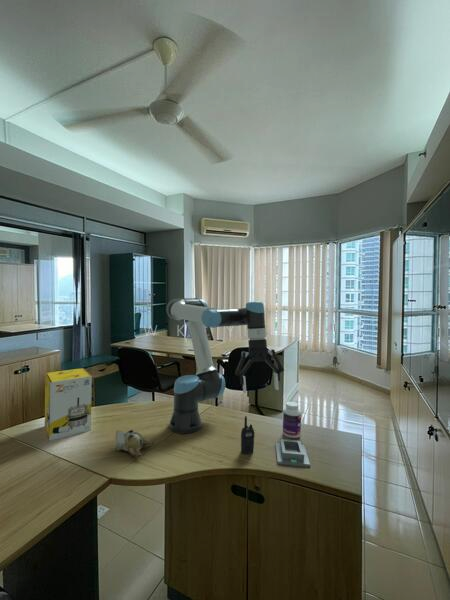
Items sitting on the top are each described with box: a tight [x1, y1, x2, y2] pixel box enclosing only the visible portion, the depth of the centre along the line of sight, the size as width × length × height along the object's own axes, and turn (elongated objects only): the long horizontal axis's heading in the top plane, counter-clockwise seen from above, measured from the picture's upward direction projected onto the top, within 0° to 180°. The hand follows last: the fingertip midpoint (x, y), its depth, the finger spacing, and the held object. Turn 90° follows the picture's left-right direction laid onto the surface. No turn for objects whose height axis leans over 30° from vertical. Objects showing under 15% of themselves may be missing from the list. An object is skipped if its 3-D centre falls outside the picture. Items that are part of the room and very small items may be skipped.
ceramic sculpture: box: [115, 429, 155, 458], centre depth 115 cm, size 11×9×15 cm
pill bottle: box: [282, 401, 302, 439], centre depth 131 cm, size 8×8×14 cm
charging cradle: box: [274, 439, 311, 468], centre depth 115 cm, size 12×14×4 cm
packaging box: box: [44, 367, 93, 442], centre depth 131 cm, size 16×16×25 cm
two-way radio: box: [240, 415, 255, 454], centre depth 117 cm, size 6×4×15 cm
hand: (260, 391), depth 117 cm, fingers open, 13 cm apart
